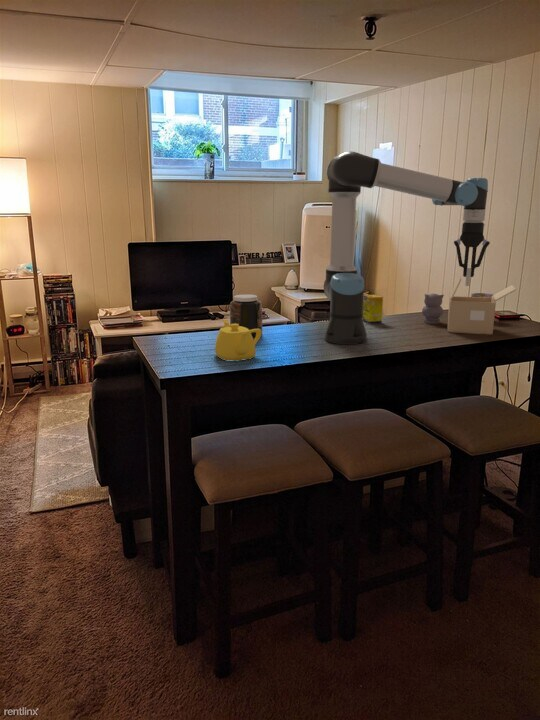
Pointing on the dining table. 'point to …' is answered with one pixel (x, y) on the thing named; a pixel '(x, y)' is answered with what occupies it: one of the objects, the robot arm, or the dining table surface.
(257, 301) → the jar
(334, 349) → the dining table surface
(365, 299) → the supplement box
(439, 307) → the cat figurine
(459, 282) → the flap
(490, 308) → the carton
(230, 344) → the teapot
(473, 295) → the mug
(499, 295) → the flap
